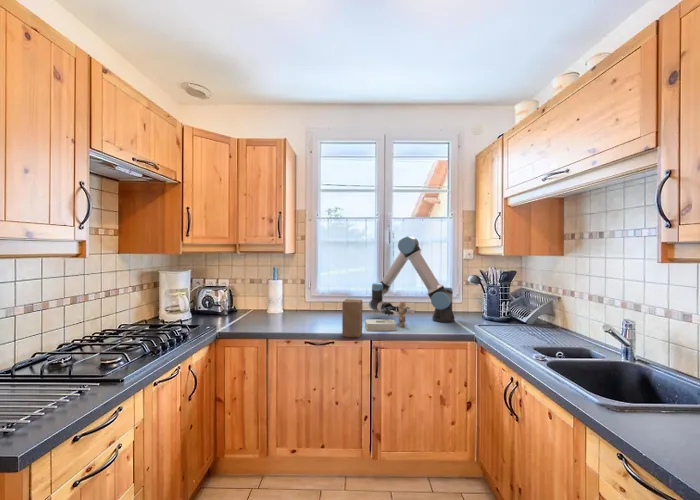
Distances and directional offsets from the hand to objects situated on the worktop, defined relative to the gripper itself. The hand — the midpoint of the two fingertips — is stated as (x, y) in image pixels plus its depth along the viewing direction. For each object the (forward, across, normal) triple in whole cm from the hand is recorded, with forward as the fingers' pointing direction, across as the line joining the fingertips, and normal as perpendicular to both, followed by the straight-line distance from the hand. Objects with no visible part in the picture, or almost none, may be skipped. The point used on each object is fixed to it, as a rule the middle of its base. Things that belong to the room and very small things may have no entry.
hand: (405, 313), depth 229 cm
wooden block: (-2, +38, -10) cm, 39 cm away
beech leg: (-3, 0, -10) cm, 10 cm away
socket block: (-8, +14, -10) cm, 18 cm away
